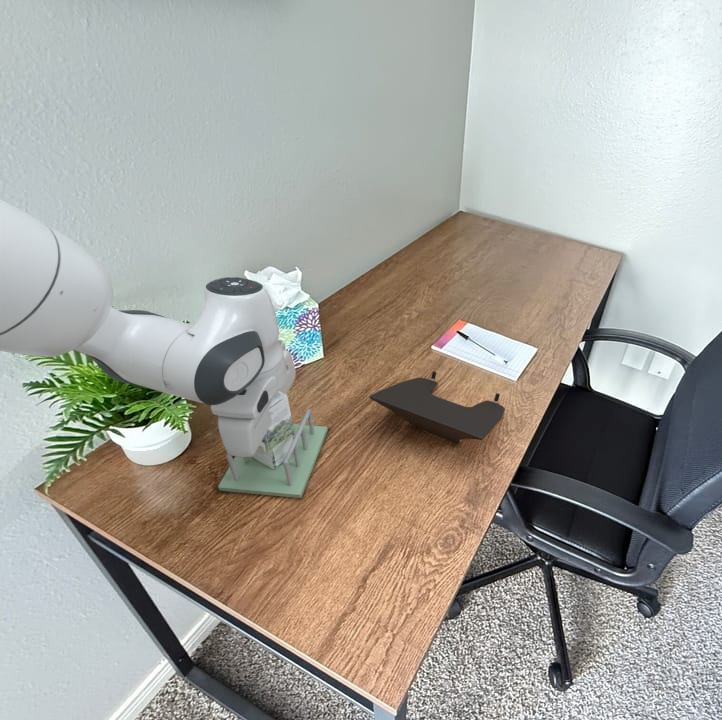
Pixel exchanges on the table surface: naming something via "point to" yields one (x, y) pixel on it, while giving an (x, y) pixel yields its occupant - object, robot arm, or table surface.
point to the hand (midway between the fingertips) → (271, 432)
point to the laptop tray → (439, 411)
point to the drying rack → (288, 475)
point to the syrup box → (277, 433)
